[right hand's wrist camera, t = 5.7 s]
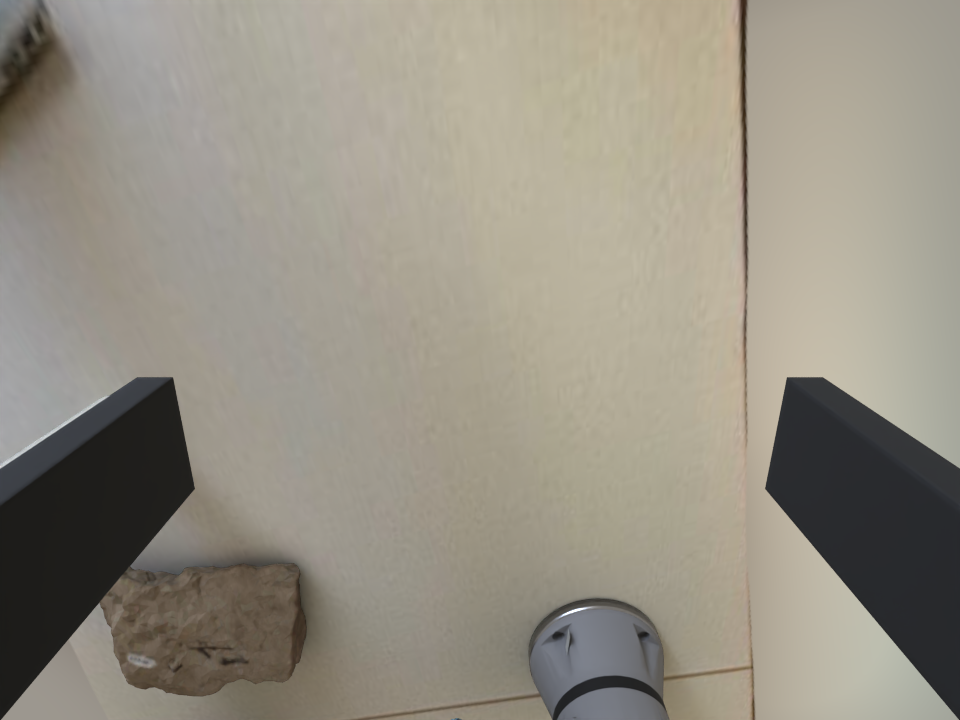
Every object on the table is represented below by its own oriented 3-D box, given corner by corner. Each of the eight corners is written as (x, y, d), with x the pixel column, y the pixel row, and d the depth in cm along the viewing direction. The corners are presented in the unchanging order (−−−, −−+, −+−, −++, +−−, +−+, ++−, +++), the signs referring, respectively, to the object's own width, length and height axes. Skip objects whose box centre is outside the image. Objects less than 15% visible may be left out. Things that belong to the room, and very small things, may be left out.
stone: (114, 679, 65) (87, 718, 59) (106, 553, 63) (77, 580, 57) (308, 661, 68) (302, 697, 63) (306, 542, 67) (299, 566, 61)
